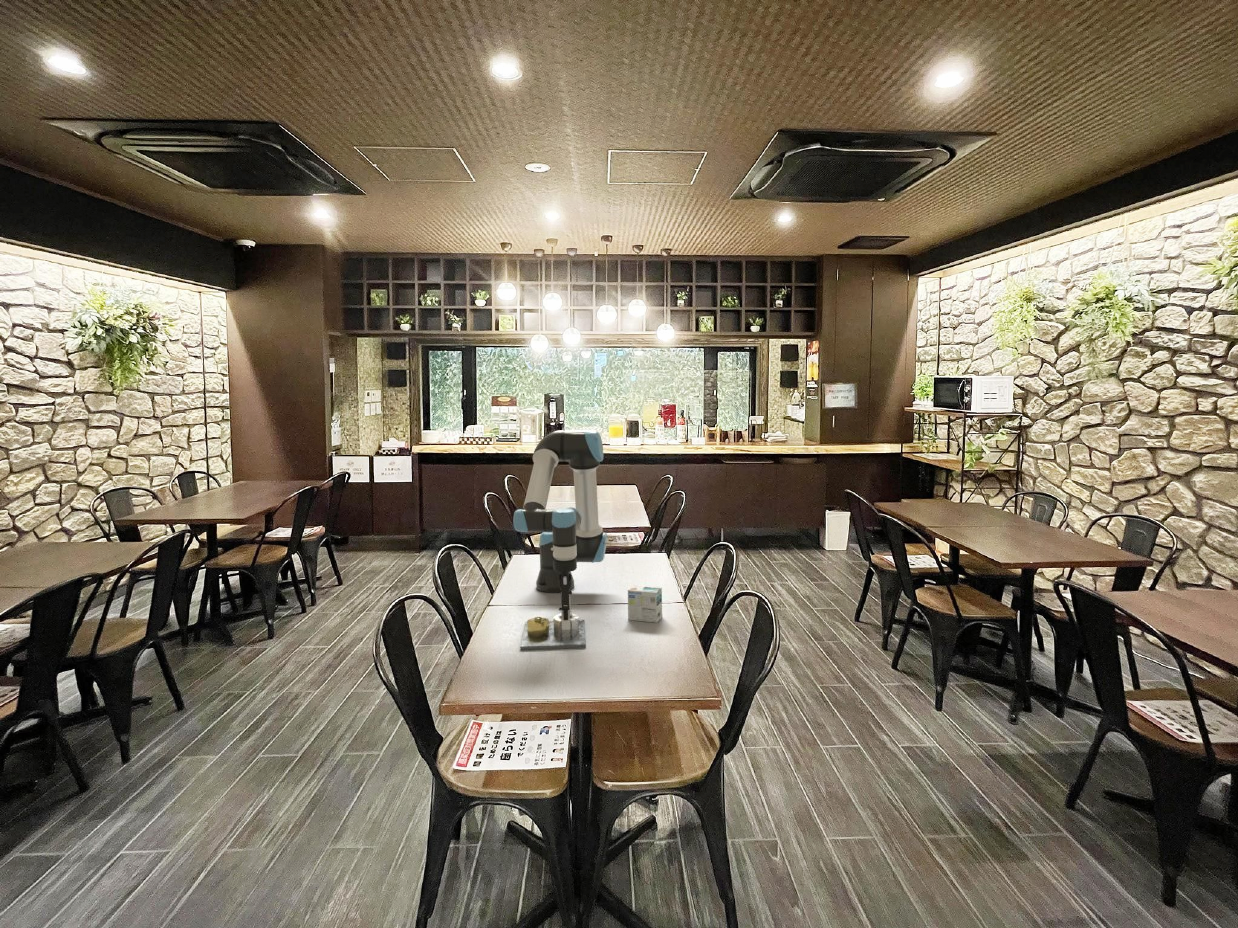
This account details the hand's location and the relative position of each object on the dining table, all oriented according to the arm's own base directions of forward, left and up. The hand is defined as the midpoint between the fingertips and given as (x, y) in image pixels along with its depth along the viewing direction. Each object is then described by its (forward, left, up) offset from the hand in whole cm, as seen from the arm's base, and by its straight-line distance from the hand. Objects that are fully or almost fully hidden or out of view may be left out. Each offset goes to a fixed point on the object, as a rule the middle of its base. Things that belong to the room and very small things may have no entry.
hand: (566, 621), depth 227 cm
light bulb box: (-14, +27, -5) cm, 31 cm away
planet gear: (0, 0, -3) cm, 3 cm away
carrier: (0, -4, -5) cm, 6 cm away
